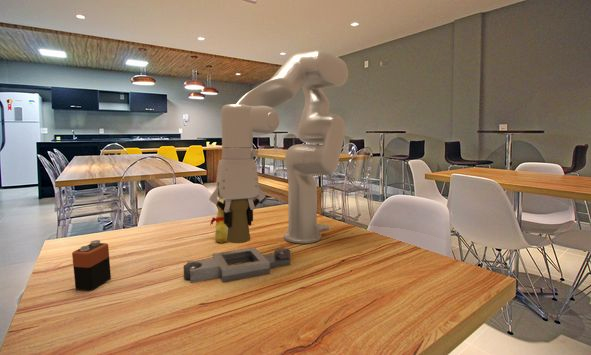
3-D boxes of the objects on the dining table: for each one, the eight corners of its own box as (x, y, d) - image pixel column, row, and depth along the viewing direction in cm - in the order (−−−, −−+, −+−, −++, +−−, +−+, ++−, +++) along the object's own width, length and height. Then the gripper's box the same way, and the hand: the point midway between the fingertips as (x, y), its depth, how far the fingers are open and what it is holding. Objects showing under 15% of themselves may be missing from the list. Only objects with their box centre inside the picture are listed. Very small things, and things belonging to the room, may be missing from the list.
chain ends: (281, 253, 99) (281, 243, 99) (298, 268, 88) (298, 257, 88) (181, 269, 87) (180, 258, 87) (187, 289, 77) (186, 276, 76)
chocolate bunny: (234, 233, 118) (233, 191, 116) (229, 243, 107) (227, 198, 105) (214, 233, 118) (213, 191, 116) (207, 244, 107) (206, 198, 105)
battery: (112, 278, 82) (108, 239, 81) (91, 291, 76) (87, 249, 74) (95, 277, 83) (92, 238, 81) (74, 290, 76) (70, 248, 75)
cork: (245, 244, 83) (245, 200, 81) (222, 242, 84) (222, 199, 83) (253, 236, 89) (253, 196, 87) (232, 235, 90) (231, 195, 89)
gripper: (264, 153, 91) (264, 218, 93) (200, 154, 83) (202, 225, 86) (274, 154, 84) (274, 225, 86) (205, 156, 77) (207, 233, 79)
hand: (238, 224), depth 86 cm, fingers closed on cork, 4 cm apart
